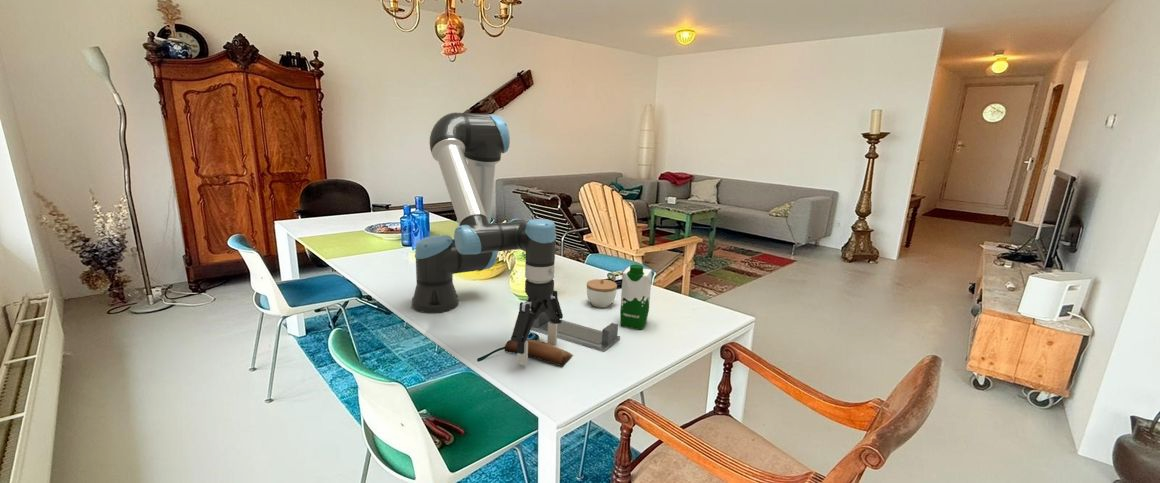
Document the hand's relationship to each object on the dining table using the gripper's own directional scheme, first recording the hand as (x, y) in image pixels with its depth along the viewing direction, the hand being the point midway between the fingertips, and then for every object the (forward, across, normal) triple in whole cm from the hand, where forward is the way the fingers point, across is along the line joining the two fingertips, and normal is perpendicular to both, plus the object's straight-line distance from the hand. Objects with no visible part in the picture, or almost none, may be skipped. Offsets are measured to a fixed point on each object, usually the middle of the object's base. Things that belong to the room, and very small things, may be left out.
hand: (537, 353), depth 130 cm
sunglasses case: (+2, +2, 0) cm, 2 cm away
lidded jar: (+1, +45, +5) cm, 45 cm away
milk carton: (+1, +36, -12) cm, 38 cm away
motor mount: (+1, +18, +2) cm, 18 cm away
